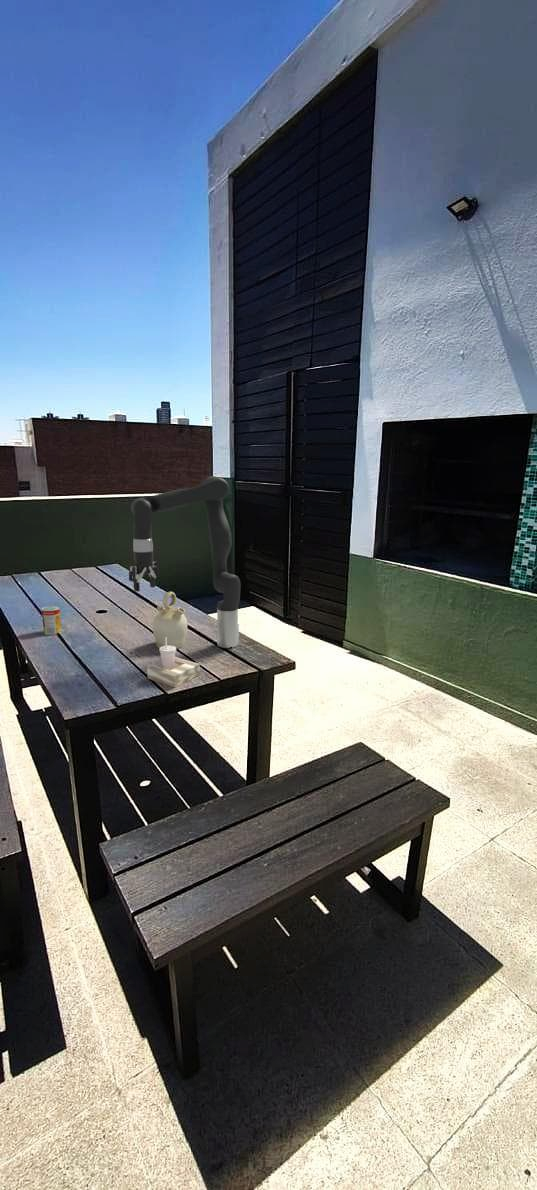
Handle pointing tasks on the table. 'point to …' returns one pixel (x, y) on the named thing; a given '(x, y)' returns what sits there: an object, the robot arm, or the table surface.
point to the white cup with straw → (167, 655)
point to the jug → (170, 623)
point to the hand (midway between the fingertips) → (145, 589)
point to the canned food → (51, 620)
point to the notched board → (174, 672)
